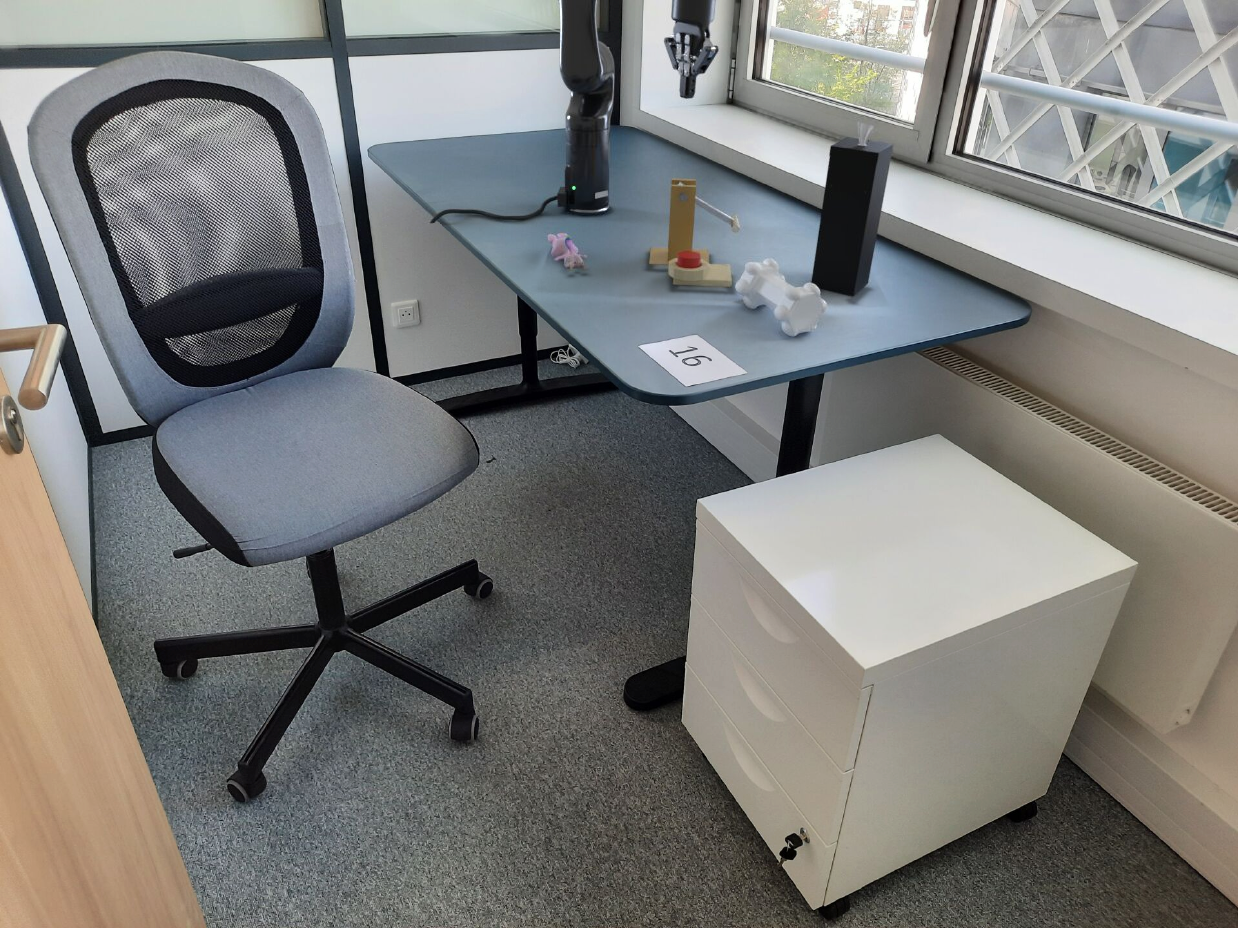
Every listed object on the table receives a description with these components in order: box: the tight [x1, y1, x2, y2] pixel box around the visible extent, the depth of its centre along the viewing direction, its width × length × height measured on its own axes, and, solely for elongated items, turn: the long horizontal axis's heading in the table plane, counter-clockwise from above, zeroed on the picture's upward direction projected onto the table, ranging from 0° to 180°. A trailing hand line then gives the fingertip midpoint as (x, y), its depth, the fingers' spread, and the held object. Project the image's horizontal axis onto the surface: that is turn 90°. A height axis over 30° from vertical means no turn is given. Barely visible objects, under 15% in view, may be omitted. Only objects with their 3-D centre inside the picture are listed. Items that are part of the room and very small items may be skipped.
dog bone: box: [735, 257, 828, 337], centre depth 141 cm, size 15×9×8 cm, turn 24°
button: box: [677, 251, 701, 269], centre depth 152 cm, size 4×4×2 cm
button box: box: [667, 258, 733, 288], centre depth 154 cm, size 11×9×4 cm
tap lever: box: [678, 182, 740, 234], centre depth 159 cm, size 13×6×2 cm, turn 88°
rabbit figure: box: [547, 232, 588, 272], centre depth 162 cm, size 6×6×15 cm
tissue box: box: [810, 121, 895, 297], centre depth 146 cm, size 8×8×28 cm
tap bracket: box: [648, 178, 710, 266], centre depth 160 cm, size 11×9×15 cm
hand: (686, 97), depth 160 cm, fingers closed
